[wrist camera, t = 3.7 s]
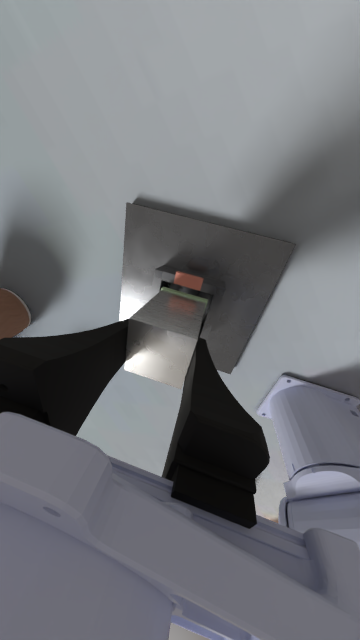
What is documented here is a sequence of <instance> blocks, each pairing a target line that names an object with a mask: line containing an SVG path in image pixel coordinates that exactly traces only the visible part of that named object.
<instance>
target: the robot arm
mask: <svg viewBox="0 0 360 640" xmlns="http://www.w3.org/2000/svg"><path fill="white" fill-rule="evenodd" d="M128 324H129V318H128V319H125V320H122V321H119V322H116V323H113V324H110V325H107V326H104V327H100V328H97V329H93V330H89V331H84V332H79V333H73V334H65V335H58V336H47V337H21V338H2V339H0V640H168V638H169V630H170V623H173V624H176V625H178V626H180V627H183V628H185V629H187V630H190V631H192V632H194V633H196V634H199V635H201V636H203V637H206V638H208V639H210V640H360V411H359V410H358V408H357V406H358V405H359V404H360V400H359V399H358V398H356V397H353V396H350V395H347V394H344V393H341V392H338V391H334V390H331V389H328V388H325V387H322V386H319V385H316V384H312V383H309V382H306V381H303V380H300V379H297V378H293V377H290V376H287V375H282V376H280V378H279V379H278V381H277V382H276V383H275V385H274V386H273V388H272V389H271V391H270V392H269V393H268V395H267V396H266V398H265V399H264V400H263V402H262V403H261V405H260V406H259V408H258V409H257V414H258V415H260V416H263V417H266V418H269V419H272V421H273V424H274V428H275V431H276V435H277V438H278V442H279V445H280V449H281V452H282V456H283V459H284V463H285V466H286V470H287V473H288V477H289V480H290V481H288V482H285V483H283V484H284V488H285V492H286V496H287V497H284V498H283V499H282V500H281V502H280V505H279V524H278V523H276V522H273V521H271V520H268V519H266V518H263V517H261V516H258V515H256V511H255V503H254V496H253V494H255V493H256V484H255V478H256V477H257V476H258V475H259V474H260V473H261V472H262V471H263V470H264V469H265V468H266V467H267V465H268V464H269V459H270V456H269V452H268V447H267V443H266V440H265V437H264V434H263V431H262V427H261V426H260V425H259V424H258V423H257V422H256V421H255V420H254V419H253V418H252V417H251V416H250V415H249V414H248V413H247V412H246V411H245V410H244V408H243V407H242V406H241V405H240V404H239V403H238V401H237V400H236V399H235V398H234V396H233V395H232V394H231V392H230V391H229V390H228V388H227V387H226V385H225V384H224V382H223V381H222V379H221V377H220V375H219V374H218V372H217V370H216V368H215V365H214V363H213V361H212V358H211V356H210V353H209V350H208V346H207V342H206V340H205V339H203V338H199V337H198V340H197V343H196V346H195V349H194V352H193V355H192V358H191V361H190V364H189V367H188V370H187V373H186V376H185V381H184V387H183V394H182V400H181V405H180V409H179V413H178V417H177V421H176V425H175V429H174V433H173V436H172V440H171V444H170V448H169V452H168V455H167V459H166V463H165V467H164V470H163V474H162V477H160V476H158V475H155V474H153V473H150V472H148V471H145V470H143V469H140V468H138V467H135V466H132V465H130V464H127V463H125V462H122V461H120V460H117V459H115V458H112V457H110V456H107V455H106V454H105V453H104V452H103V451H102V450H101V449H100V448H99V447H97V446H95V445H93V444H91V443H90V442H88V441H86V440H84V439H81V438H79V437H76V435H77V433H78V431H79V429H80V428H81V426H82V424H83V422H84V421H85V419H86V417H87V416H88V414H89V412H90V411H91V409H92V407H93V406H94V404H95V403H96V401H97V400H98V398H99V396H100V395H101V393H102V392H103V390H104V389H105V387H106V386H107V384H108V383H109V381H110V380H111V379H112V377H113V376H114V375H115V374H116V372H117V371H118V370H119V369H120V367H121V366H122V365H123V364H124V363H125V357H126V346H127V335H128Z"/></svg>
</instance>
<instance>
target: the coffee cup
mask: <svg viewBox="0 0 360 640" xmlns="http://www.w3.org/2000/svg"><path fill="white" fill-rule="evenodd" d="M30 323H31V314H30V311H29V309H28V307H27V305H26V304H25V302H24V301H23V300H22V299H21V298H20V297H19V296H18V295H16V294H15V293H14V292H12V291H10V290H7V289H4V288H0V339H2V338H12V337H13V336H15V335H17V334H18V333H20V332H22V331H23V330H24V329H25V328H27V327H28V326H29V325H30Z"/></svg>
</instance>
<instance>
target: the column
mask: <svg viewBox="0 0 360 640" xmlns="http://www.w3.org/2000/svg"><path fill="white" fill-rule="evenodd" d="M207 302H208V299H205V298H201V297H198V296H194V295H191V294H187V293H184V292H180V291H177V290H173V289H170V288H167V287H162V288H161V291H160V292H159V293H158V294H157V295H155V296H154V297H153V298H152V299H151V300H150V301H148V302H147V303H146V304H145V305H144V306H143V307H141V308H140V309H139V310H138V311H137V312H136V313H135V314H133V315H132V316H131V317H130V318H129V324H128V335H127V346H126V357H125V368H124V370H127V371H130V372H133V373H135V374H138V375H141V376H144V377H147V378H150V379H153V380H156V381H159V382H162V383H165V384H167V385H170V386H173V387H176V388H179V389H181V388H182V385H183V382H184V379H185V376H186V373H187V370H188V367H189V364H190V361H191V358H192V355H193V352H194V349H195V346H196V343H197V340H198V336H199V331H200V327H201V323H202V318H203V314H204V311H205V308H206V305H207Z"/></svg>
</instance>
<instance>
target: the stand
mask: <svg viewBox="0 0 360 640" xmlns="http://www.w3.org/2000/svg"><path fill="white" fill-rule="evenodd" d="M295 245H296V244H293V243H289V242H285V241H281V240H277V239H273V238H269V237H265V236H261V235H257V234H253V233H249V232H245V231H240V230H236V229H232V228H228V227H224V226H220V225H216V224H212V223H208V222H204V221H200V220H196V219H192V218H188V217H184V216H180V215H176V214H171V213H167V212H163V211H159V210H155V209H151V208H147V207H143V206H139V205H135V204H131V203H127V204H126V221H125V238H124V254H123V271H122V288H121V305H120V321H122V320H125V319H128V318H130V317H131V316H132V315H133V314H135V313H136V312H137V311H138V310H139V309H140V308H141V307H143V306H144V305H145V304H146V303H147V302H148V301H150V300H151V299H152V298H153V297H154V296H155V295H157V294H158V293H159V292H160V291H161V288H162V287H167V288H170V289H173V290H177V291H180V292H184V293H187V294H191V295H194V296H198V297H201V298H205V299H208V302H207V305H206V308H205V311H204V314H203V318H202V323H201V327H200V331H199V336H198V337H199V338H203V339H205V340H206V342H207V346H208V350H209V353H210V356H211V358H212V361H213V363H214V365H215V368H216V370H219V371H222V372H225V373H228V374H231V372H232V370H233V368H234V366H235V364H236V362H237V360H238V358H239V356H240V354H241V352H242V350H243V348H244V346H245V344H246V342H247V340H248V338H249V336H250V334H251V332H252V330H253V328H254V326H255V324H256V322H257V320H258V318H259V317H260V315H261V313H262V311H263V309H264V307H265V305H266V303H267V301H268V299H269V297H270V295H271V293H272V291H273V289H274V287H275V285H276V283H277V281H278V279H279V277H280V275H281V273H282V271H283V269H284V267H285V265H286V263H287V261H288V259H289V257H290V255H291V253H292V251H293V249H294V247H295Z"/></svg>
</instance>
